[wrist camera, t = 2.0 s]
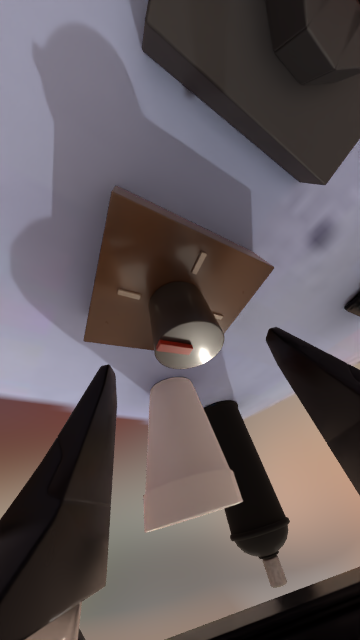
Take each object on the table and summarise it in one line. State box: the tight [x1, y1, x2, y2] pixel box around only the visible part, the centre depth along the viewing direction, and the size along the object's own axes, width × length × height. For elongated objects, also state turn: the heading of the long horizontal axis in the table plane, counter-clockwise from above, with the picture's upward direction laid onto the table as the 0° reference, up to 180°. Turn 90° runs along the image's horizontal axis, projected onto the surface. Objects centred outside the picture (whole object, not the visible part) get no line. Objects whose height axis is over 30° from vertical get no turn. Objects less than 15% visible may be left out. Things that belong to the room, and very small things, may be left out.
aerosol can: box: [204, 401, 290, 588], centre depth 28 cm, size 8×8×20 cm
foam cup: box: [143, 377, 243, 532], centre depth 22 cm, size 10×9×13 cm
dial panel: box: [84, 185, 274, 350], centre depth 14 cm, size 11×10×3 cm
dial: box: [149, 282, 224, 369], centre depth 11 cm, size 4×4×4 cm
